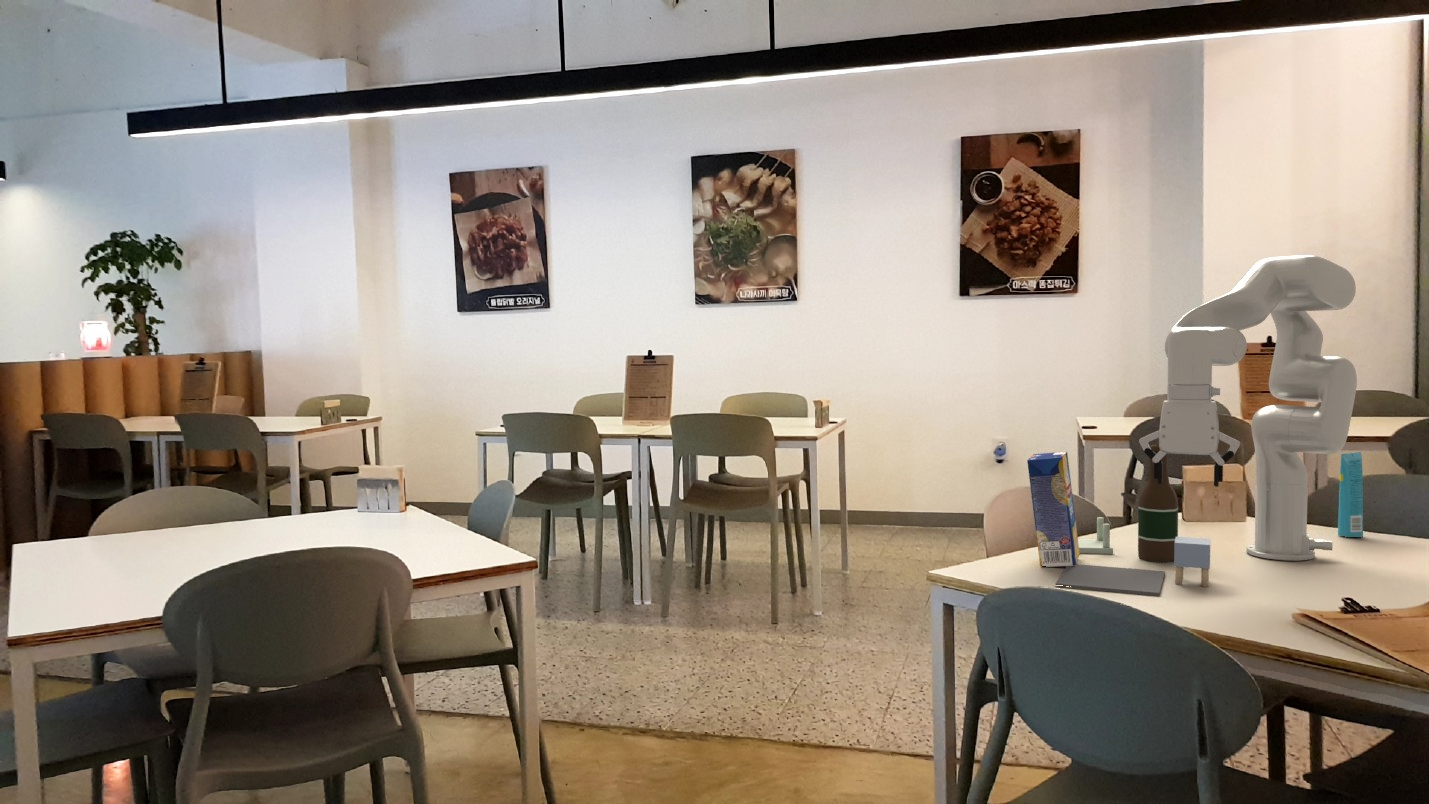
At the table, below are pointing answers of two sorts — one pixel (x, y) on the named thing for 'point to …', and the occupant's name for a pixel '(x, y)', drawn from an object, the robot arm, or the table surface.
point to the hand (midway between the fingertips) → (1187, 484)
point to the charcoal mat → (1112, 579)
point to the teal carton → (1351, 496)
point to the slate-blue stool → (1192, 557)
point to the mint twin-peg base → (1097, 540)
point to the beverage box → (1053, 509)
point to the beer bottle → (1157, 517)
